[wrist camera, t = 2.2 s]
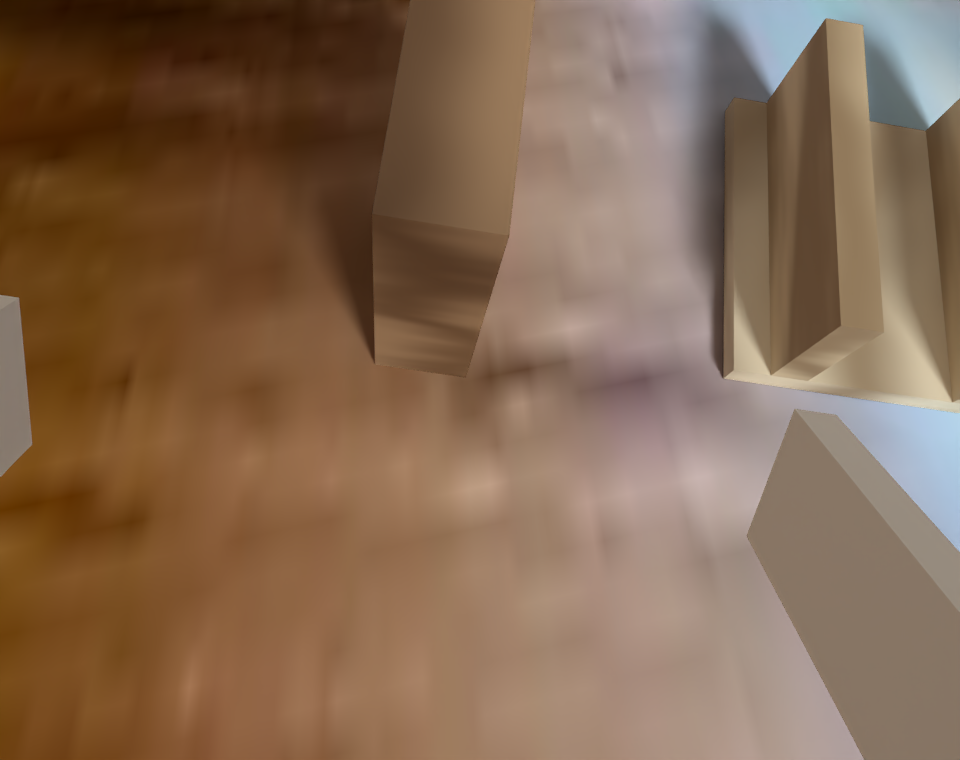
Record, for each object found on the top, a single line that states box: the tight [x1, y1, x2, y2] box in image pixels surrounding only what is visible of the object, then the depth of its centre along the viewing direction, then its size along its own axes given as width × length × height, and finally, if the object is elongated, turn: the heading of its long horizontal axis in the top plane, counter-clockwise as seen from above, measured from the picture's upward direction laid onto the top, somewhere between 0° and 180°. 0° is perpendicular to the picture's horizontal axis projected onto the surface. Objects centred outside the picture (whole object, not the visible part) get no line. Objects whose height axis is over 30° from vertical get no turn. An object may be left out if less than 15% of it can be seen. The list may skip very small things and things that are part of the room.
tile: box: [372, 0, 535, 377], centre depth 27 cm, size 4×9×11 cm, turn 173°
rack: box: [723, 18, 960, 413], centre depth 31 cm, size 12×13×6 cm
